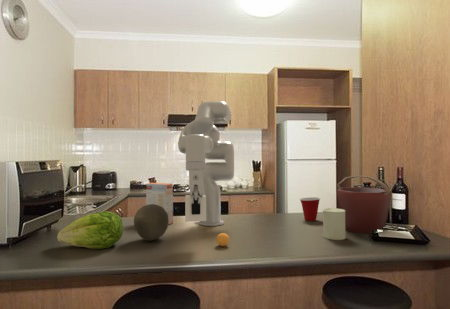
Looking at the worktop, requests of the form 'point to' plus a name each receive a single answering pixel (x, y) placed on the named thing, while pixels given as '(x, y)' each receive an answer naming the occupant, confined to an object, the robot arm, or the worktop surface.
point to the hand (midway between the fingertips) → (195, 212)
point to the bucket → (364, 206)
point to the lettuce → (93, 231)
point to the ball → (222, 239)
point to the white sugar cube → (189, 209)
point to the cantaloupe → (151, 222)
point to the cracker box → (161, 197)
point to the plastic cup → (310, 208)
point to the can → (334, 223)
